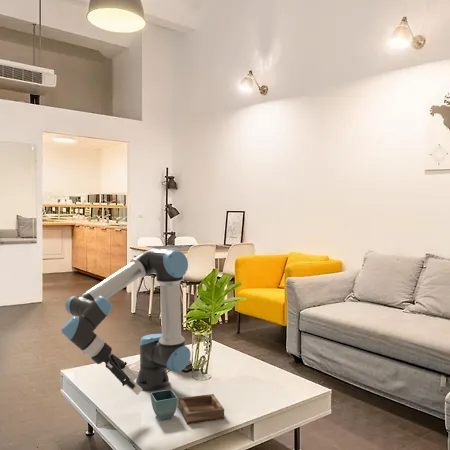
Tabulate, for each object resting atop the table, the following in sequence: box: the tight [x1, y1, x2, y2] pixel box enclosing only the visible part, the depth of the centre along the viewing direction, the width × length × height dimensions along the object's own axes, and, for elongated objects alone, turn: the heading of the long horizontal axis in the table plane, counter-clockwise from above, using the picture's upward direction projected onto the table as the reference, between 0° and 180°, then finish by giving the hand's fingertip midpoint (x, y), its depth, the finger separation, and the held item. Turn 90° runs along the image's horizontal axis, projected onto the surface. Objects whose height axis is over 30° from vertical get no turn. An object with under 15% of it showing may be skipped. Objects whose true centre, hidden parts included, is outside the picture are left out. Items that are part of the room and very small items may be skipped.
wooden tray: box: [178, 393, 225, 425], centre depth 180 cm, size 15×15×4 cm
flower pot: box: [150, 389, 178, 421], centre depth 177 cm, size 9×9×9 cm
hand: (137, 385), depth 173 cm, fingers open, 13 cm apart
